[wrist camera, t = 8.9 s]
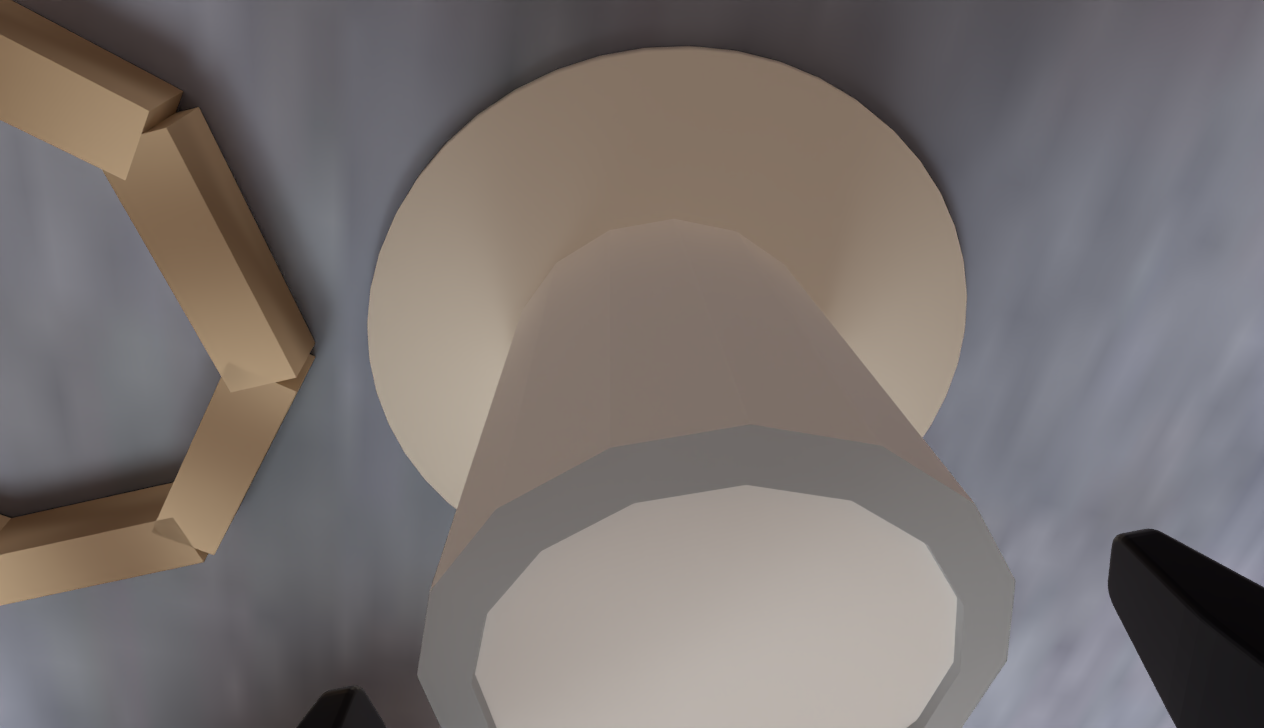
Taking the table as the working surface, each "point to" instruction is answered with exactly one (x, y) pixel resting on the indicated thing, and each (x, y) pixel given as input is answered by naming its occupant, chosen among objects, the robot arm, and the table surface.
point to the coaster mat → (650, 192)
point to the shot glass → (704, 516)
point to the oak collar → (202, 283)
